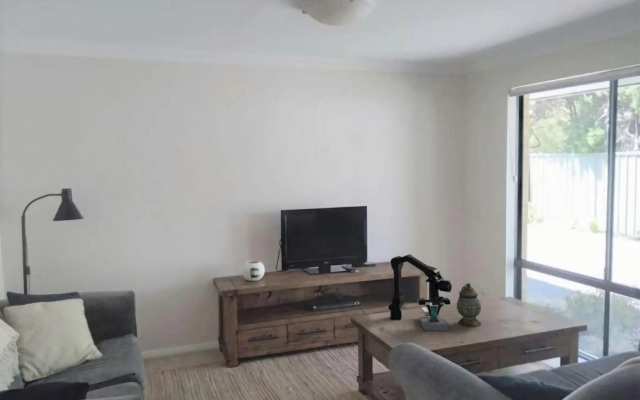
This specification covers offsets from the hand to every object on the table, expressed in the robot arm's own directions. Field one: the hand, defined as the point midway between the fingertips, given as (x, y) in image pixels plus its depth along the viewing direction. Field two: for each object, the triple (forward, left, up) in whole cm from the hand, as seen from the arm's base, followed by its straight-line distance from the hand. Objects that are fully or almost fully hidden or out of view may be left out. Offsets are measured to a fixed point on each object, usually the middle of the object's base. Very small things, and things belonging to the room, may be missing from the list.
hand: (433, 315), depth 297 cm
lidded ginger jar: (+22, +4, -7) cm, 24 cm away
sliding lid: (0, +12, -3) cm, 12 cm away
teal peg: (0, 0, -2) cm, 3 cm away
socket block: (0, 0, -7) cm, 7 cm away
